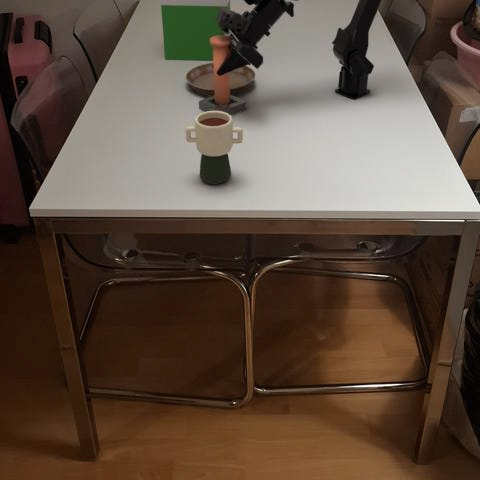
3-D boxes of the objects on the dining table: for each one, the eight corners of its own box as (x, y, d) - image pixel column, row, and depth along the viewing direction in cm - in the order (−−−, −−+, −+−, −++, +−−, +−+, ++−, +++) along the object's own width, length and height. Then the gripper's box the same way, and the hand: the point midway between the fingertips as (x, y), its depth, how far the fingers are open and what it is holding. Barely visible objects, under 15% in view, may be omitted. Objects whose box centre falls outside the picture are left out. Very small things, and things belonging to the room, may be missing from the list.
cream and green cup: (243, 169, 131) (243, 110, 123) (241, 188, 125) (241, 127, 118) (190, 168, 132) (187, 109, 124) (186, 186, 126) (182, 126, 118)
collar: (246, 109, 154) (246, 101, 153) (221, 119, 150) (220, 111, 148) (224, 99, 159) (224, 91, 157) (199, 108, 154) (198, 101, 153)
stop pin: (236, 101, 153) (235, 39, 144) (221, 107, 150) (219, 44, 141) (223, 95, 156) (221, 33, 147) (208, 101, 153) (205, 38, 144)
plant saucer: (193, 104, 157) (193, 92, 155) (180, 76, 171) (179, 65, 169) (263, 96, 160) (263, 84, 159) (245, 69, 174) (245, 58, 172)
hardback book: (165, 59, 180) (158, -31, 166) (169, 50, 186) (163, -38, 172) (228, 61, 179) (226, -30, 164) (230, 51, 185) (229, -37, 170)
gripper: (226, -18, 147) (181, 36, 151) (249, 7, 132) (199, 65, 136) (259, 14, 153) (215, 64, 157) (284, 40, 138) (235, 95, 143)
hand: (215, 71), depth 148 cm, fingers closed on stop pin, 4 cm apart
